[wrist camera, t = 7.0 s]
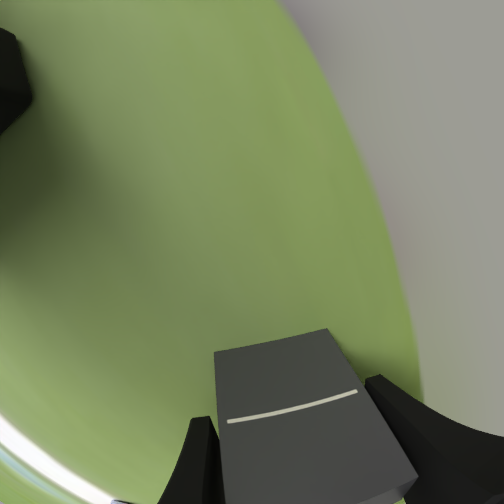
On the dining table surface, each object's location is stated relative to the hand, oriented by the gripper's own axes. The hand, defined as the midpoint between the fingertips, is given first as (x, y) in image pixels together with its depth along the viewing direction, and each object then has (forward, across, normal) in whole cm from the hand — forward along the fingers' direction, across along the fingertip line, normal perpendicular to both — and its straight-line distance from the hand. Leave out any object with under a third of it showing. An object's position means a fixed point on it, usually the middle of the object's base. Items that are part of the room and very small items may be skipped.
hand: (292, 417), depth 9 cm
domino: (+3, 0, 0) cm, 4 cm away
